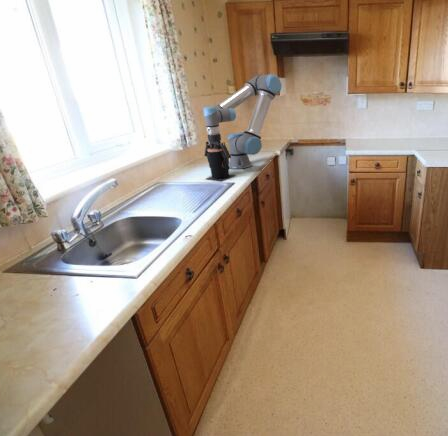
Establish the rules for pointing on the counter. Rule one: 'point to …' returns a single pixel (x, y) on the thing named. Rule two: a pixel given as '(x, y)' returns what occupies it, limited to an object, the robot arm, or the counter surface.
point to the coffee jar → (217, 164)
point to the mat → (220, 179)
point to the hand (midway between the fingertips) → (219, 168)
